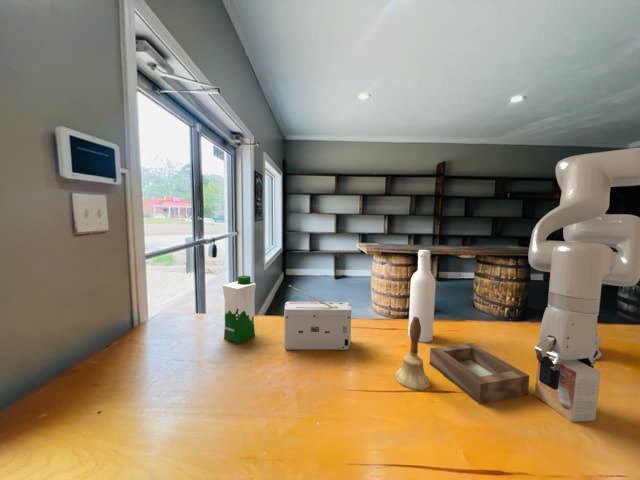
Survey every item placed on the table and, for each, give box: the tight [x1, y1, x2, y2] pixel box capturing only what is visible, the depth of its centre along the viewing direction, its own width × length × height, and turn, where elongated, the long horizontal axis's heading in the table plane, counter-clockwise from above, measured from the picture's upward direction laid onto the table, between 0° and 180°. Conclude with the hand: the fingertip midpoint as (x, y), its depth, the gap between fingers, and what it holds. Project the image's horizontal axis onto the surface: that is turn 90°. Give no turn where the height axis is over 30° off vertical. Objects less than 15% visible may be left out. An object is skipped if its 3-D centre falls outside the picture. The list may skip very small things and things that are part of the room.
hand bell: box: [394, 317, 431, 391], centre depth 63 cm, size 8×8×16 cm
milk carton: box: [222, 275, 257, 345], centre depth 83 cm, size 9×9×20 cm
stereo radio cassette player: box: [283, 284, 352, 351], centre depth 79 cm, size 21×8×20 cm, turn 92°
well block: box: [429, 342, 530, 405], centre depth 64 cm, size 14×16×4 cm
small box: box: [534, 351, 602, 423], centre depth 54 cm, size 8×6×10 cm
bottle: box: [407, 249, 436, 343], centre depth 86 cm, size 8×8×30 cm
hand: (565, 382), depth 53 cm, fingers open, 9 cm apart
